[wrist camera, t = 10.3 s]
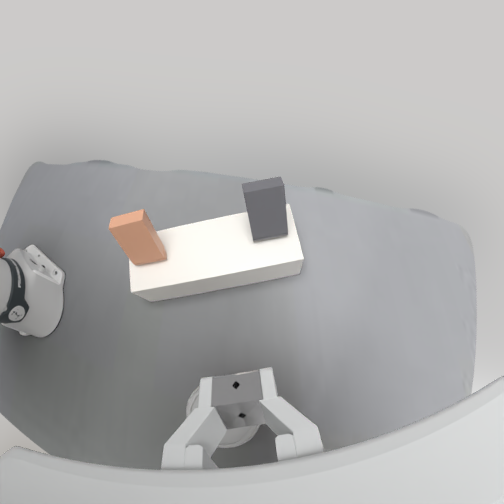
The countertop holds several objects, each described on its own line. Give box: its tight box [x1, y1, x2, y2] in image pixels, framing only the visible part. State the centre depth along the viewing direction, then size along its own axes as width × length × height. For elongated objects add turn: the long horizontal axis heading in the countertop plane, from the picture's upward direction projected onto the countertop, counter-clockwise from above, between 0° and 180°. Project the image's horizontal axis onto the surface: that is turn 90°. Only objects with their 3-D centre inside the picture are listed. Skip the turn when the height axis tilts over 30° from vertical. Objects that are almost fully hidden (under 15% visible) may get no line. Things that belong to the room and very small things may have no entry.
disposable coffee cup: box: [186, 386, 260, 448], centre depth 37 cm, size 10×10×12 cm
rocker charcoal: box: [242, 177, 288, 242], centre depth 39 cm, size 2×5×9 cm, turn 100°
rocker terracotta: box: [109, 209, 167, 266], centre depth 39 cm, size 2×5×9 cm, turn 100°
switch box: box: [129, 204, 304, 302], centre depth 47 cm, size 9×26×8 cm, turn 100°
